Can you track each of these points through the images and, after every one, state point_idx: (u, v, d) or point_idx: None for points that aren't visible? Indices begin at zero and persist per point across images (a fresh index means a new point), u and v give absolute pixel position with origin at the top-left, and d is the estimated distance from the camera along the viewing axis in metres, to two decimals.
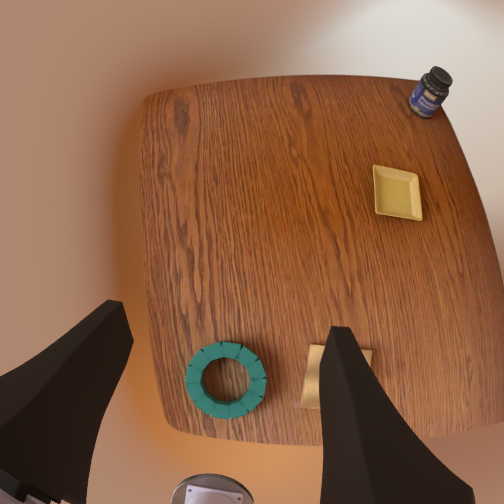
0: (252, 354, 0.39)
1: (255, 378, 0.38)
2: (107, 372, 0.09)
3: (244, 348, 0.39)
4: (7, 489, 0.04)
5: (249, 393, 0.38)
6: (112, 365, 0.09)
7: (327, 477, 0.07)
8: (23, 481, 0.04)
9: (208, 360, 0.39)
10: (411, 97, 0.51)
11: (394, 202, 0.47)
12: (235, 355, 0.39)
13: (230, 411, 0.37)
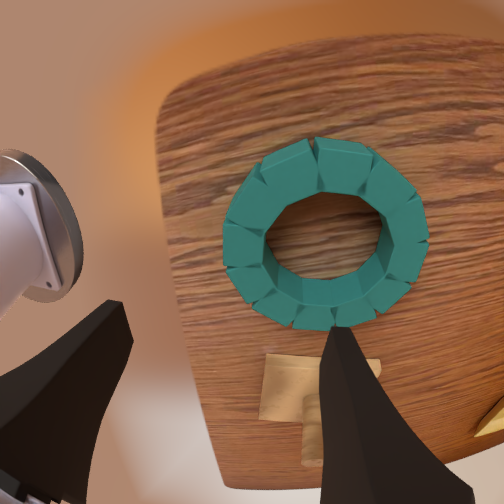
0: (390, 304, 0.16)
1: (335, 313, 0.17)
2: (107, 372, 0.09)
3: (406, 289, 0.16)
4: (7, 488, 0.04)
5: (298, 304, 0.17)
6: (112, 365, 0.09)
7: (327, 477, 0.07)
8: (23, 481, 0.04)
9: (387, 212, 0.13)
10: None
11: (502, 409, 0.26)
12: (394, 273, 0.15)
13: (246, 269, 0.16)
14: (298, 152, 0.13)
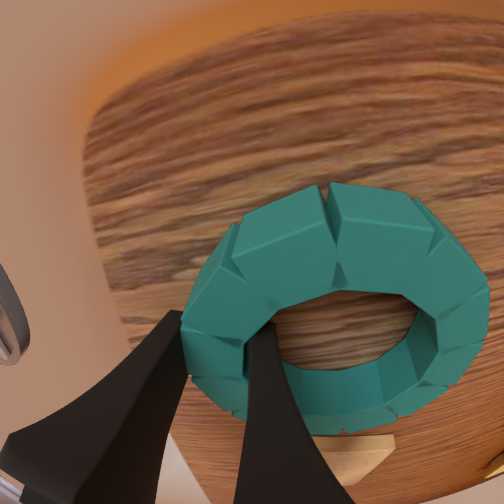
0: (417, 408, 0.11)
1: (344, 421, 0.11)
2: (174, 387, 0.09)
3: (441, 392, 0.10)
4: None
5: None
6: (178, 379, 0.09)
7: None
8: None
9: (440, 313, 0.08)
10: None
11: None
12: (430, 380, 0.09)
13: (220, 380, 0.10)
14: (302, 225, 0.07)
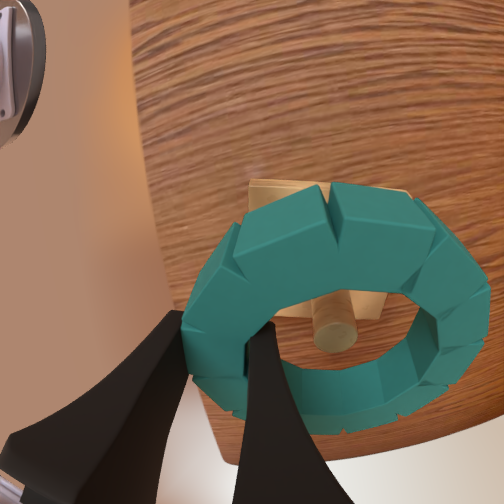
0: (418, 407, 0.11)
1: (345, 420, 0.11)
2: (175, 388, 0.09)
3: (442, 392, 0.10)
4: None
5: None
6: (179, 380, 0.09)
7: None
8: None
9: (440, 312, 0.08)
10: None
11: None
12: (431, 379, 0.09)
13: (221, 380, 0.10)
14: (304, 224, 0.07)
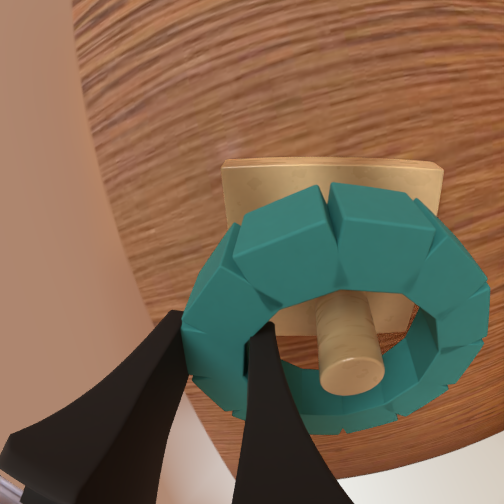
0: (418, 407, 0.11)
1: (344, 420, 0.11)
2: (175, 388, 0.09)
3: (441, 392, 0.10)
4: None
5: None
6: (179, 380, 0.09)
7: None
8: None
9: (440, 313, 0.08)
10: None
11: None
12: (430, 379, 0.09)
13: (220, 380, 0.10)
14: (303, 224, 0.07)
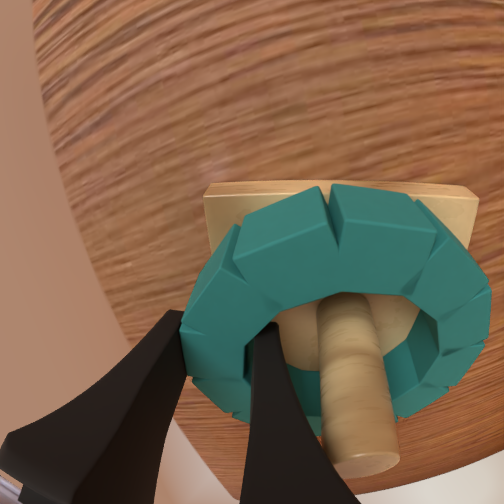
0: (418, 409, 0.10)
1: None
2: (173, 387, 0.09)
3: (442, 393, 0.10)
4: None
5: None
6: (177, 379, 0.09)
7: None
8: None
9: (441, 315, 0.08)
10: None
11: None
12: (431, 381, 0.09)
13: (220, 382, 0.10)
14: (304, 226, 0.07)
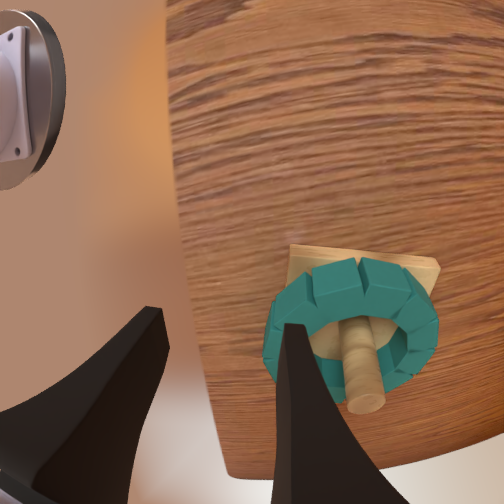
0: (393, 387, 0.18)
1: None
2: (147, 382, 0.09)
3: (408, 378, 0.17)
4: None
5: None
6: (152, 374, 0.09)
7: (275, 476, 0.07)
8: None
9: (409, 330, 0.15)
10: None
11: None
12: (402, 368, 0.17)
13: None
14: (350, 284, 0.14)
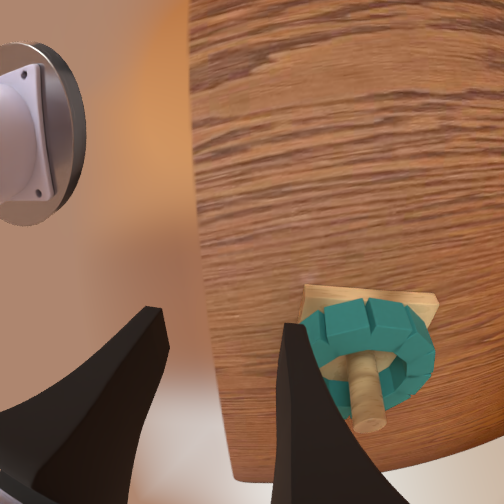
0: (392, 406, 0.20)
1: None
2: (147, 382, 0.09)
3: (406, 398, 0.19)
4: None
5: None
6: (152, 374, 0.09)
7: (275, 476, 0.07)
8: None
9: (409, 360, 0.17)
10: None
11: None
12: (401, 390, 0.18)
13: None
14: (359, 325, 0.16)
